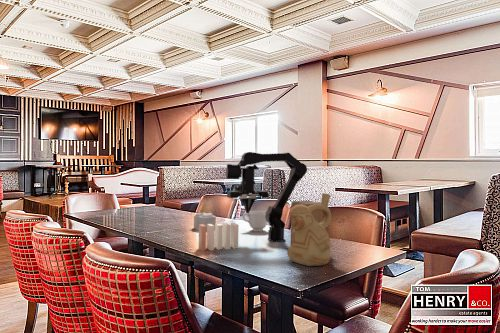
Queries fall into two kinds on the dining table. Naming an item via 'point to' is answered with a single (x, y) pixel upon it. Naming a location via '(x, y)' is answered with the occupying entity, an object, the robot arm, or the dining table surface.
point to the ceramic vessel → (310, 234)
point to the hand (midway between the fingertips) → (247, 213)
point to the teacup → (256, 220)
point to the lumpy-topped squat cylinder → (204, 220)
